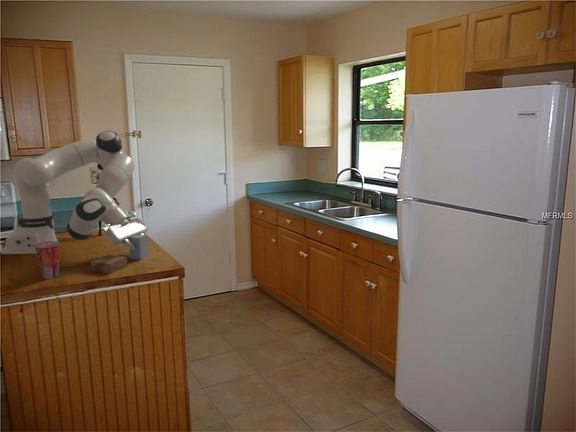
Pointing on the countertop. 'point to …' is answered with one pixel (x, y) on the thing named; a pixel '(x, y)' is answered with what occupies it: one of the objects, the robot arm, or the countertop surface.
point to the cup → (48, 258)
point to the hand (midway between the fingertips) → (140, 246)
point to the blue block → (139, 247)
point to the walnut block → (109, 264)
